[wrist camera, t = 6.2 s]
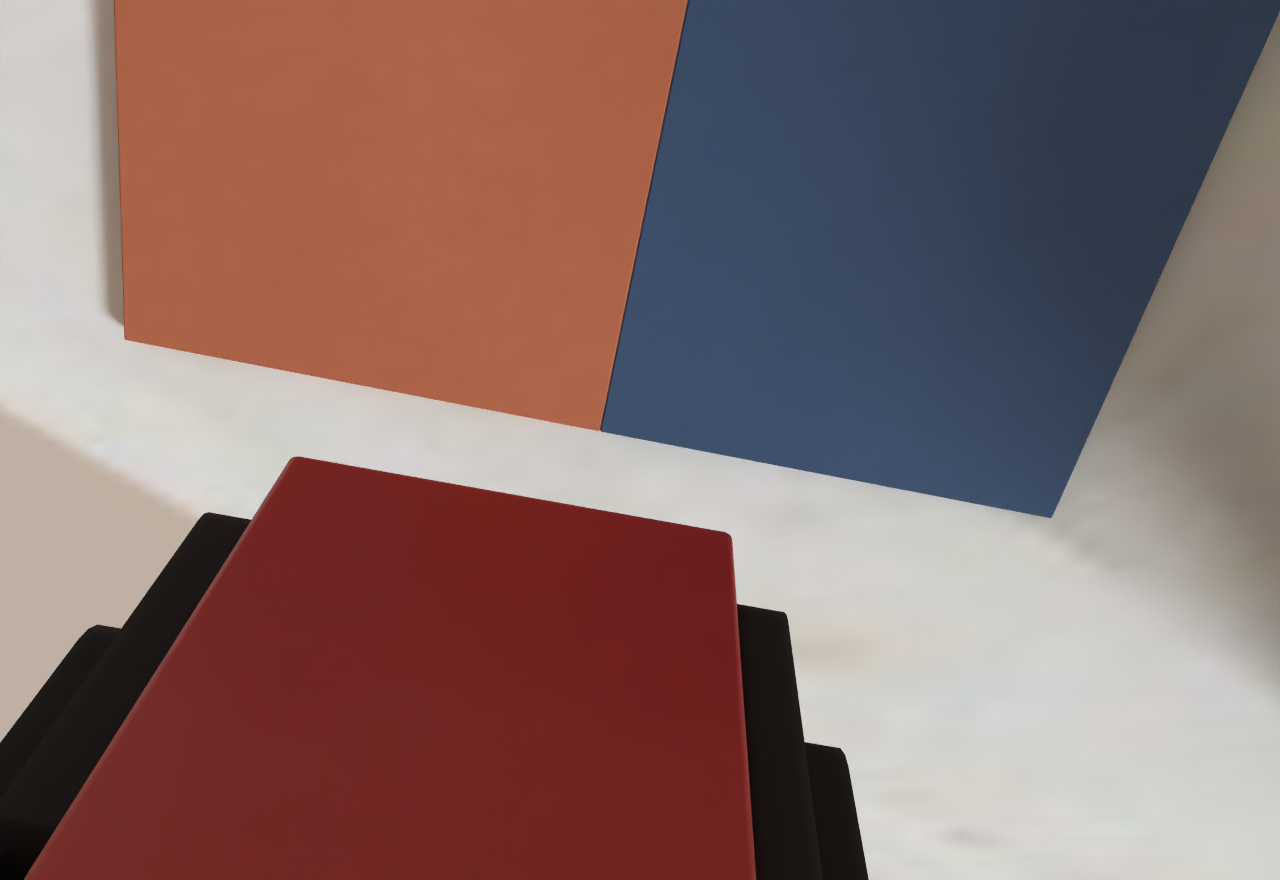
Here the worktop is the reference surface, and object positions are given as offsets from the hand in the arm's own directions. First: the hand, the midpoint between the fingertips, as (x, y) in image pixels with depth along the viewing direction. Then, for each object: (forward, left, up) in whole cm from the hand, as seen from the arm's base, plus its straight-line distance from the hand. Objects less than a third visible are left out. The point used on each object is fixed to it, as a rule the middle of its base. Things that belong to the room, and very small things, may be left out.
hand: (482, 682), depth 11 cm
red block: (0, 0, 0) cm, 0 cm away
